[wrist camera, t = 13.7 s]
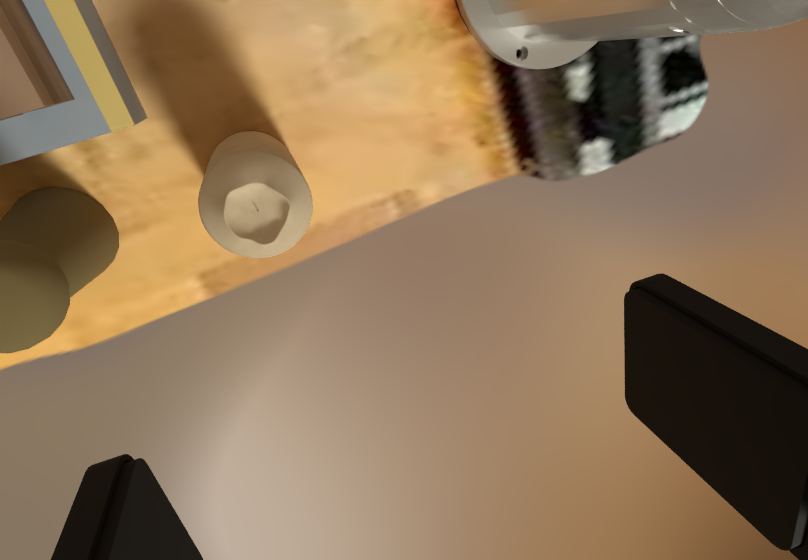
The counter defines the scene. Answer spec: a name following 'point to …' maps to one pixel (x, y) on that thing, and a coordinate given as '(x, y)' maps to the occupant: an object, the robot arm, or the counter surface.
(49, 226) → the olive pepper mill
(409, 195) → the counter surface
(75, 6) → the block
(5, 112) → the brown wooden bar
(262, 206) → the candle
